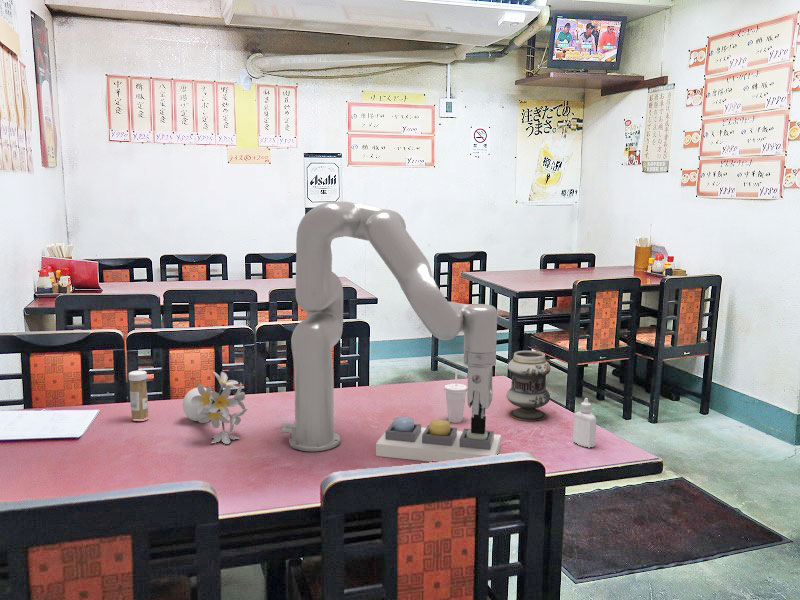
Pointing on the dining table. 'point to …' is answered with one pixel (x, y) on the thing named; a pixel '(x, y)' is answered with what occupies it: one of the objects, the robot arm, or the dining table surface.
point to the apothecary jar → (528, 385)
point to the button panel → (435, 445)
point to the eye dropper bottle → (584, 426)
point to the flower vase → (215, 406)
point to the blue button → (403, 424)
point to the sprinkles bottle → (138, 394)
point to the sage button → (477, 435)
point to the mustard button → (439, 428)
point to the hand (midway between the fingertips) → (478, 432)
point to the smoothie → (455, 400)
